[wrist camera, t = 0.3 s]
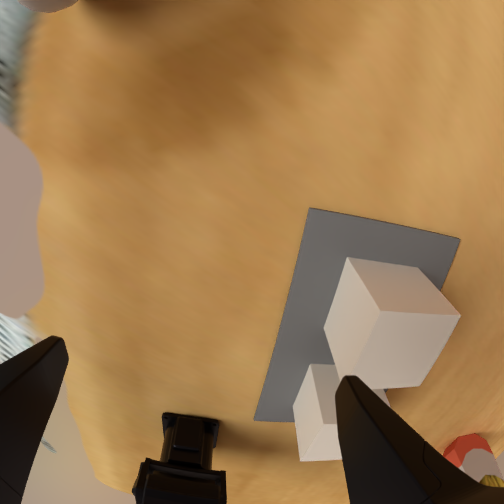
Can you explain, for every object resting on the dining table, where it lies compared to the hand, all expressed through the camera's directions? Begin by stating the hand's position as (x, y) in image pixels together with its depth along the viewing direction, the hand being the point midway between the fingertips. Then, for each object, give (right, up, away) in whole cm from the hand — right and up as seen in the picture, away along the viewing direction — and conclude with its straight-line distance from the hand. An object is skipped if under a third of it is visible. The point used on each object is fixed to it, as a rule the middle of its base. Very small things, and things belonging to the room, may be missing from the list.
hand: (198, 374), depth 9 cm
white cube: (+10, -10, +20) cm, 24 cm away
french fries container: (+41, -32, +31) cm, 61 cm away
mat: (+11, -5, +18) cm, 22 cm away
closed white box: (+11, 0, +15) cm, 19 cm away
